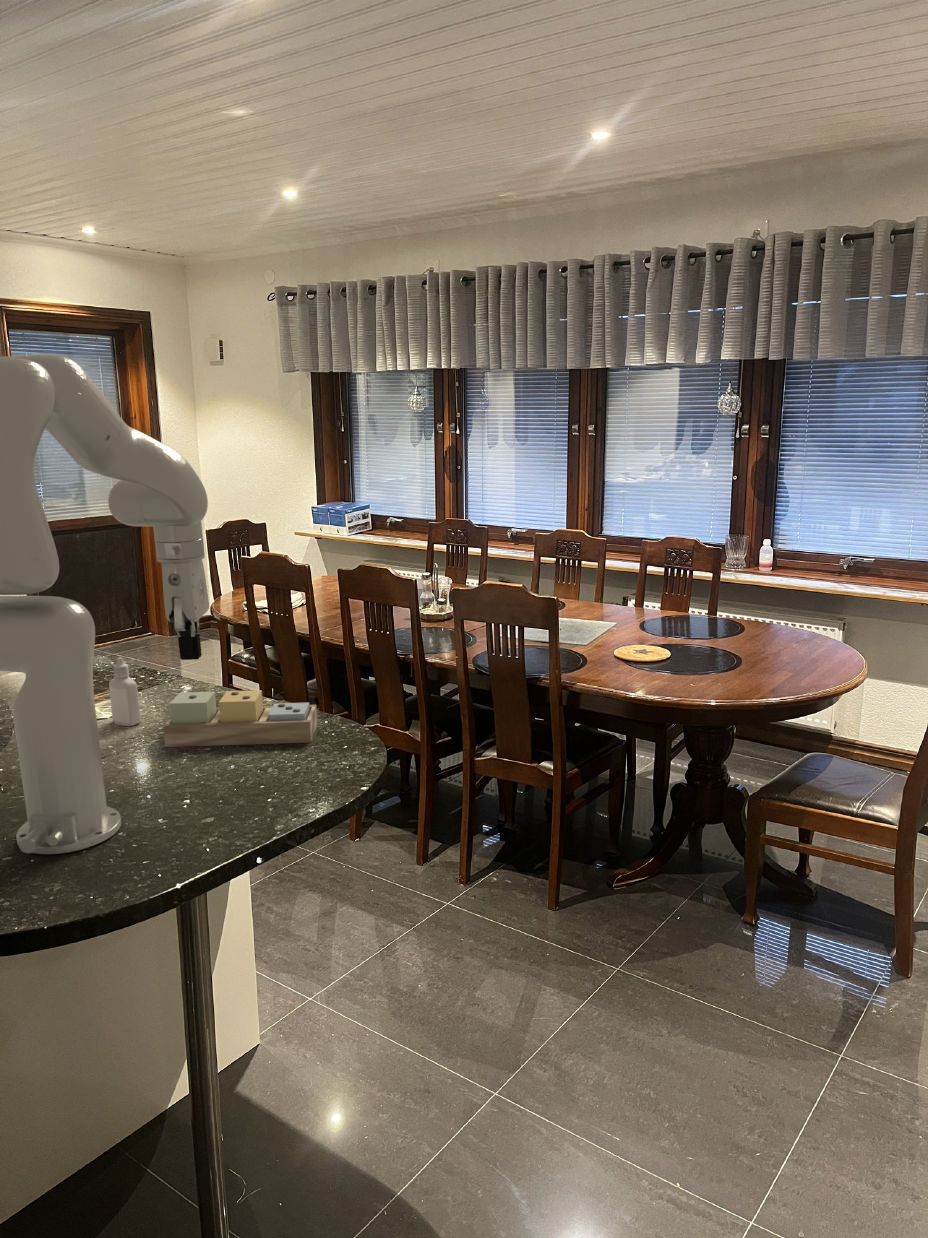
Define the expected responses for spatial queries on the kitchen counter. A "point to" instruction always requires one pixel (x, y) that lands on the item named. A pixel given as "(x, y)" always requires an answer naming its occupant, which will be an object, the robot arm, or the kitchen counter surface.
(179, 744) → the tray
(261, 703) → the tile two ochre
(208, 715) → the tile one sage
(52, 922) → the kitchen counter surface
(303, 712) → the tile three blue
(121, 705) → the eye dropper bottle
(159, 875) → the kitchen counter surface
